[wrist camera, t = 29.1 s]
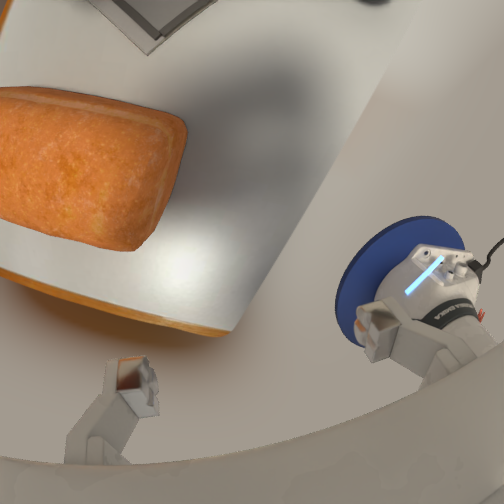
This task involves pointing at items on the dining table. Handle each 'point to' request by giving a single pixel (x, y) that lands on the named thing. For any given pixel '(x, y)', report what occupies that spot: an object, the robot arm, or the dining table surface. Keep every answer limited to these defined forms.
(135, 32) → the coffee machine
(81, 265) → the dining table surface
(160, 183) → the bread
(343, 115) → the dining table surface
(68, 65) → the dining table surface
